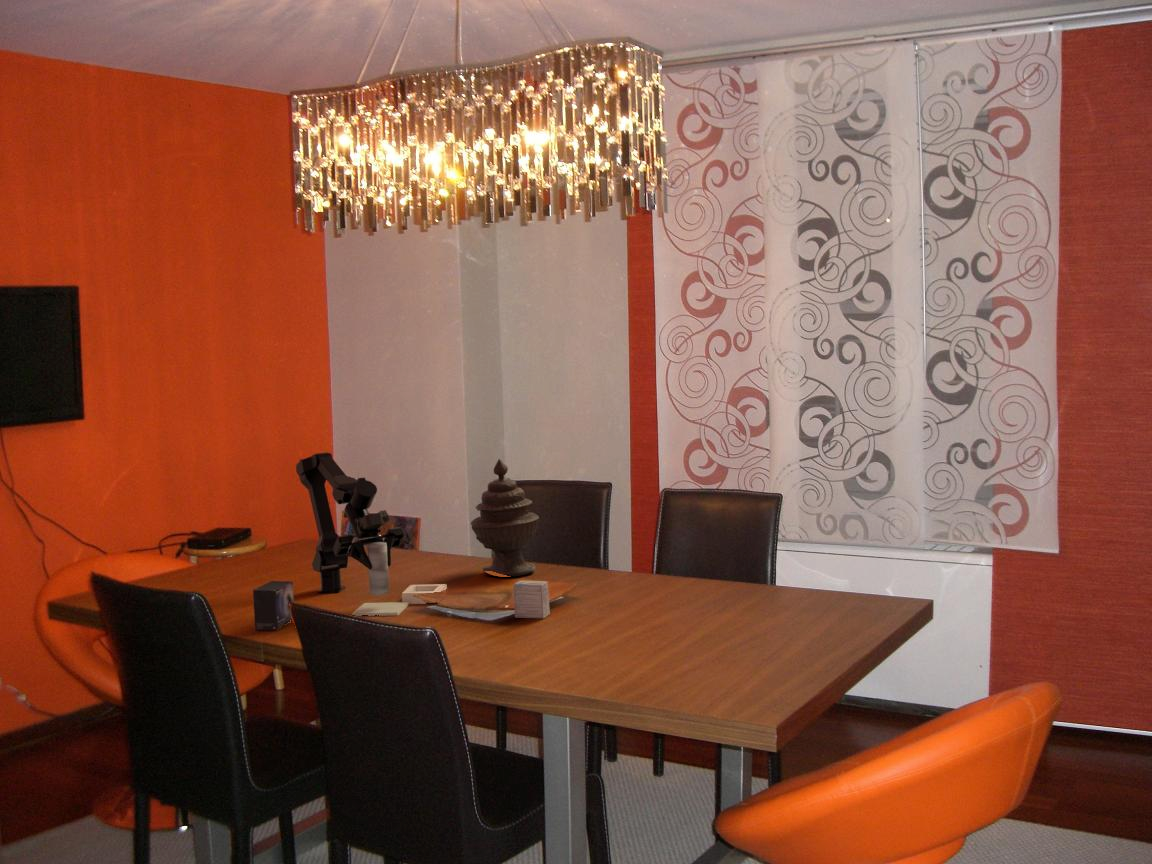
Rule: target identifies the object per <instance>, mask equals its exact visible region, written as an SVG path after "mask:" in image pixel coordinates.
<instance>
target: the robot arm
mask: <svg viewBox="0 0 1152 864" xmlns="http://www.w3.org/2000/svg"><path fill="white" fill-rule="evenodd" d="M295 465H296V466H295V470H296V475H297V476H298V478H299V482H300V483H301V485H303V486H304V487H305V488H306V489H307V490H308V494H309V499H310V504H311V508H312V513H313V516H314V520H315V526H316V529H317V534H318V539H317V543H316V546H315V551H316V552H315V554H314V558H313V560H312V563H311V565H312V569H313V571H314V572H317V573H319V575H320V588H319V589H318V590H317V591H316V592H318V593H319V592H322V593H324V594H326V592H327V593H340V592H341V591H342V590H344V589H346V587H347V586H346V585H342V573H341V572H342V571H341V569H347V568H348V563H349V562H348V561H349V558H353V560H356V561H358V562H359V563H360V564H362V565H363V566H365V567H366V569H368V571H369V570H371V569H372V565H371V562H370V560H369V558H368V553H367V552H366V550H365V547H367V544H369V543H375V542H385V543H387V558H388V567H391V565H392V558H391V557H392V554H391V552H392V549H393V548H399V547H401V545H402V542H403V540H404V538H405V536H406V532H405V530H404V528H403V527H401V526H400V527H399V526H398V527H391V528H388V529H387V531H386V533H385V534H382V535H381V534H379V533H381V531H382V528H381V527H382V526H384V525H385V524H387V523H388V522H389V521H390V517H389V513H388V511H387V510H386V509H385V510H384V509H383V510H380V511H379V512H376V513H370V512H369V510H368V509H370V507H372V504H373V501H374V499H375V497H376V494H377V491H378V488H377V485H376V484H374V483H373V482H372V481H370V480H368V479H367V478H366V477H364V476H363V477H357V479H356V478H355V477H351V476H348V475H346V473H345V471H344V470H342V468H341V467H340V466H339V465H338V463H337V462H336V461H335V459H334V458H333V455H332V453H331V452H328V451H327V452H320V453H314V454H312V455H311V456H308V457H306V458H301V459H299V461H298V463H297V464H295ZM327 482H328V484H329V485H330V486H331V488H332V493H331V495H332V496H333V497H332V498H333V499H334V501H335V502H336V504H338V505H343V504H346V505H345V508H344V512H343V518H344V519H345V518H347V519H348V523H349V524H350V528H351V529H350V533H351V534H344V535H339V534H338V533H337V532H336V528H335V523H334V520H333V515H332V512H331V511H332V510H331V507H330V502H329V499H328V495H327V494H328V493H327V489H326V483H327ZM353 534H354V536H353ZM318 593H317V594H318ZM322 593H321V594H322Z"/></svg>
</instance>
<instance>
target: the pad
mask: <svg viewBox="0 0 1152 864" xmlns="http://www.w3.org/2000/svg"><path fill="white" fill-rule="evenodd" d="M409 605H410V604H408V602H402V601H401V602H400V601H395V602H394V601H393V602H390V601H388V602H364V603H362V604H361V605H360V606H359V607H358V608H356V610H354V611H353V612H352V615H356V616H355V617H363V616H362V615H368V616H367V617H374V616H375V615H377V616H375V617H379V616H380V617H382V616H383V617H384V616H385V617H386V616H387V617H389V616H393V617H394V616H399V615H400V614H401V613H402V612H403V611H404V610H405V609H406V608H407V607H409ZM352 615H351V616H352ZM378 615H379V616H378Z"/></svg>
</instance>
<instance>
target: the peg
mask: <svg viewBox="0 0 1152 864" xmlns="http://www.w3.org/2000/svg"><path fill="white" fill-rule="evenodd" d="M366 547H367V556H368V558H369V560H370V562H371V565H372V569H371V570H369V569H368V577H369V578H368V581H369V583H368V584H369V594H370V595H371V596H381V595H382V596H383V595H387V594H389V593H390V580H389V579H390V578H389V566H388V558H387V543H385V542H375V543H369V544H367V545H366Z"/></svg>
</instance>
